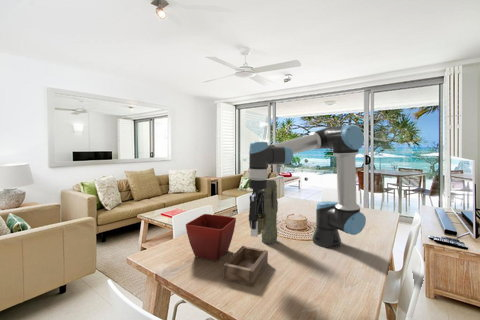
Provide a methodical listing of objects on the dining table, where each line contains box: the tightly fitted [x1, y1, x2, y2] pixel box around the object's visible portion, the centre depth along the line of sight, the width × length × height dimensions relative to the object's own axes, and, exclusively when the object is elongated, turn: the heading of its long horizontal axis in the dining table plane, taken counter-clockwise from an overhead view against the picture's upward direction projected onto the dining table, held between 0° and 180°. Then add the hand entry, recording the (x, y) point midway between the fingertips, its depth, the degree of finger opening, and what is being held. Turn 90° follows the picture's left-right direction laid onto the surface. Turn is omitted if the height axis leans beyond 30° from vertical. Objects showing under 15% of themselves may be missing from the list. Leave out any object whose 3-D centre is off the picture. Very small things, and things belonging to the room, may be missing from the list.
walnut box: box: [223, 245, 269, 287], centre depth 102 cm, size 13×20×6 cm, turn 157°
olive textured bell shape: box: [248, 213, 266, 236], centre depth 99 cm, size 8×7×8 cm
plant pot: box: [185, 213, 237, 262], centre depth 118 cm, size 19×19×17 cm
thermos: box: [261, 179, 279, 245], centre depth 134 cm, size 9×12×35 cm
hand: (256, 233), depth 99 cm, fingers closed on olive textured bell shape, 7 cm apart
